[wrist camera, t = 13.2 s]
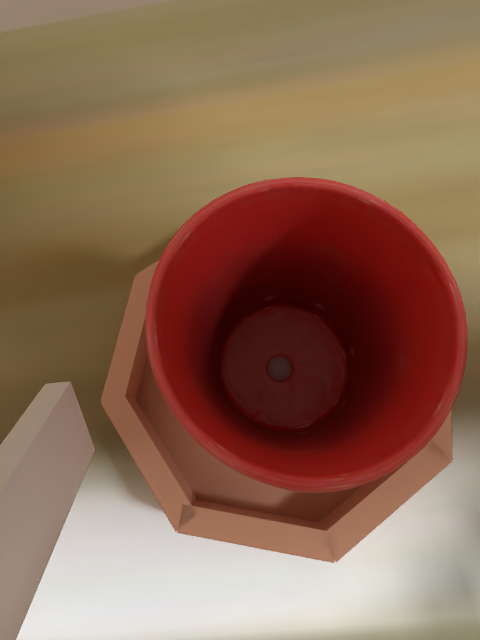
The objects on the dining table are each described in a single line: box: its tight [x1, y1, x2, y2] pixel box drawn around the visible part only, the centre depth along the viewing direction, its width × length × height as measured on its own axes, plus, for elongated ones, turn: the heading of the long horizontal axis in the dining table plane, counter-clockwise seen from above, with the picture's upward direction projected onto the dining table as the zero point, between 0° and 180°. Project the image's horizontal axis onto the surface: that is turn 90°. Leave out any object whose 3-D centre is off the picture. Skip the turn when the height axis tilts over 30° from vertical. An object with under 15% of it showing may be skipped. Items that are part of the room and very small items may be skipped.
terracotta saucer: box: [101, 259, 452, 563], centre depth 21 cm, size 18×18×3 cm
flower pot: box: [145, 177, 467, 493], centre depth 17 cm, size 11×11×10 cm
